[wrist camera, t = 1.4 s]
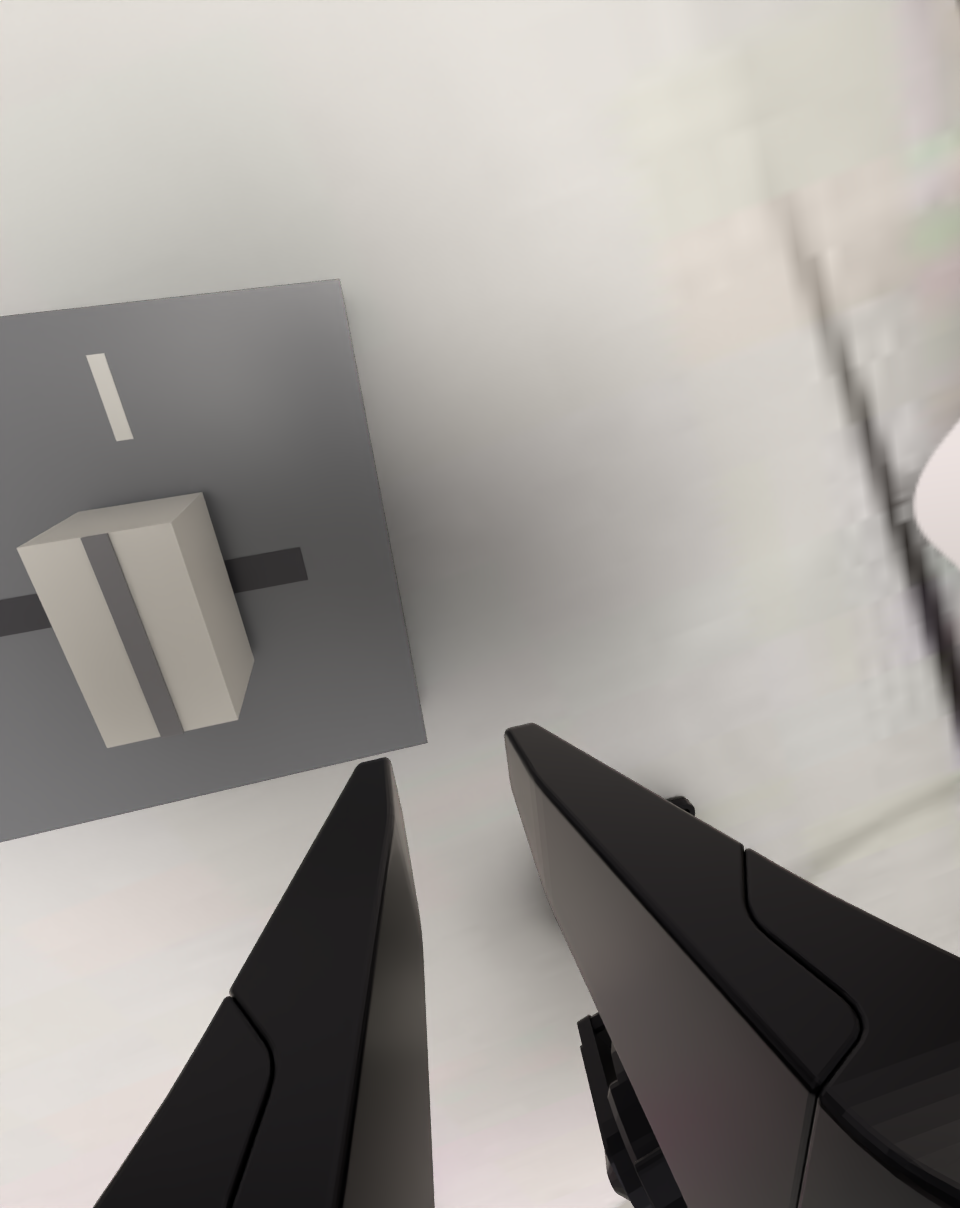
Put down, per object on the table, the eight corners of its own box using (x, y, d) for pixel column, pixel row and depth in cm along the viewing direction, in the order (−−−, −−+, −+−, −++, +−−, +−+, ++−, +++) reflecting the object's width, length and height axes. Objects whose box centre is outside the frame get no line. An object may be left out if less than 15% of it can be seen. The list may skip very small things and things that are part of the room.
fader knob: (254, 660, 18) (237, 722, 15) (146, 682, 17) (105, 750, 14) (202, 491, 16) (169, 523, 13) (78, 511, 15) (13, 549, 12)
